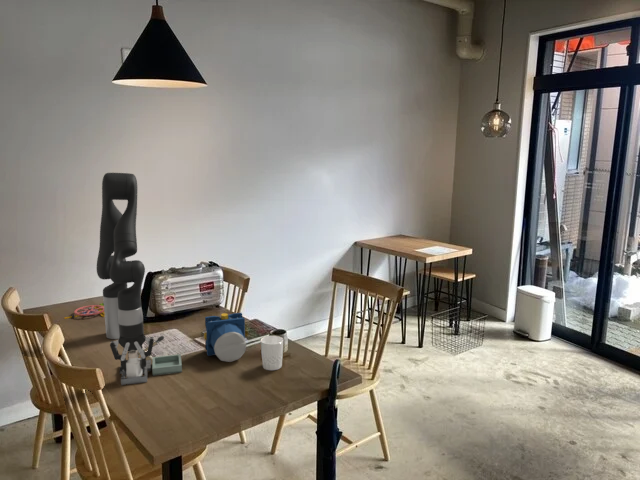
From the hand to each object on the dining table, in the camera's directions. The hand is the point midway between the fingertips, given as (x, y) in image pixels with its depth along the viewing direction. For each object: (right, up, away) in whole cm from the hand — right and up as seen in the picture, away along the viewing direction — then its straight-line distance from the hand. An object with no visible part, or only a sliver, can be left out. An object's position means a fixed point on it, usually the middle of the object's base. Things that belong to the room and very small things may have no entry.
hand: (134, 368), depth 171 cm
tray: (+9, -2, +8) cm, 12 cm away
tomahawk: (-2, +1, +25) cm, 25 cm away
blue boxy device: (+28, 0, +19) cm, 34 cm away
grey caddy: (-1, -3, +4) cm, 5 cm away
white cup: (+45, -2, +10) cm, 46 cm away
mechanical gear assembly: (-39, +9, +65) cm, 76 cm away
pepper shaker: (0, -4, +1) cm, 4 cm away
